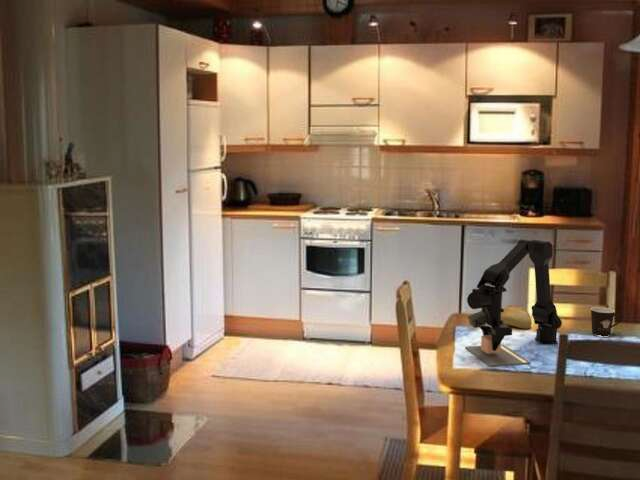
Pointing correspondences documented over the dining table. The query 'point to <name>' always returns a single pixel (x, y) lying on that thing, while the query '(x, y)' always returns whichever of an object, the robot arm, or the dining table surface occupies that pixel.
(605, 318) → the coffee mug
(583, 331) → the dining table surface
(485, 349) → the terracotta block
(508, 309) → the bread roll
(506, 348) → the mat
